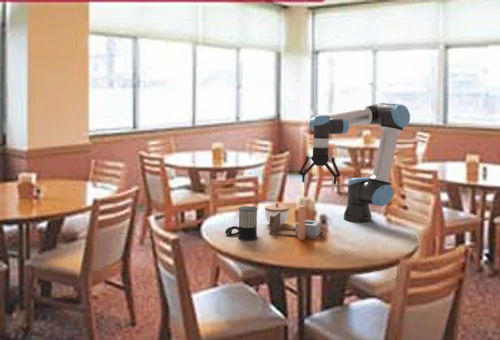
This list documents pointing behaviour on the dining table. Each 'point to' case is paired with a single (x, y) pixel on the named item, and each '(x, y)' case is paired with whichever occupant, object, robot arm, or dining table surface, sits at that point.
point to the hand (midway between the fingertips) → (318, 189)
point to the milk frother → (245, 224)
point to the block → (311, 228)
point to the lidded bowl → (277, 208)
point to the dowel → (301, 222)
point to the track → (276, 226)
